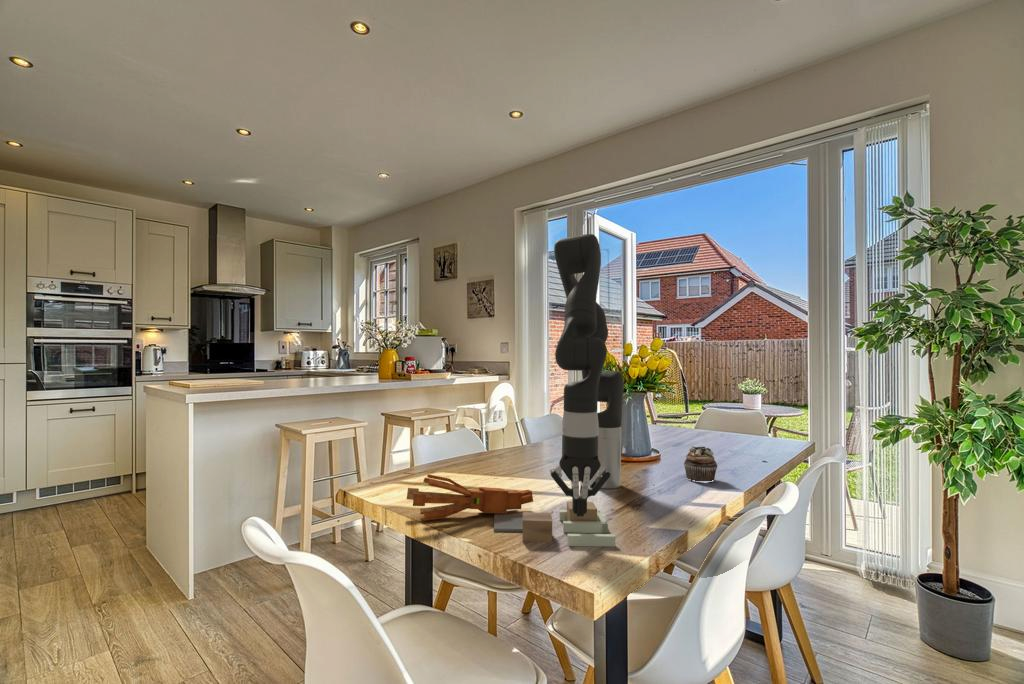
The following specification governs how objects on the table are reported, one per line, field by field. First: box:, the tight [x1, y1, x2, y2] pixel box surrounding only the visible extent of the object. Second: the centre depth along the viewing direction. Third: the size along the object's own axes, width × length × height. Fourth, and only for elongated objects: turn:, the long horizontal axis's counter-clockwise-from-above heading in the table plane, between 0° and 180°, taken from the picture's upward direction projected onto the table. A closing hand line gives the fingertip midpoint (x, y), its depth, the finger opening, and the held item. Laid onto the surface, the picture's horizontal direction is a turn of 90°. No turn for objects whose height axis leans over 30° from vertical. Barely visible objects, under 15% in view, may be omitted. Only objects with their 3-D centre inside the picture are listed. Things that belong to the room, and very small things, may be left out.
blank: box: [521, 511, 553, 544], centre depth 102 cm, size 5×6×4 cm
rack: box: [558, 501, 616, 547], centre depth 106 cm, size 16×10×4 cm, turn 1°
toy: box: [406, 473, 534, 522], centre depth 116 cm, size 10×11×30 cm
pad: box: [493, 513, 523, 533], centre depth 110 cm, size 9×9×1 cm
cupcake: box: [683, 446, 718, 481], centre depth 151 cm, size 10×10×10 cm
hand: (579, 515), depth 103 cm, fingers closed
